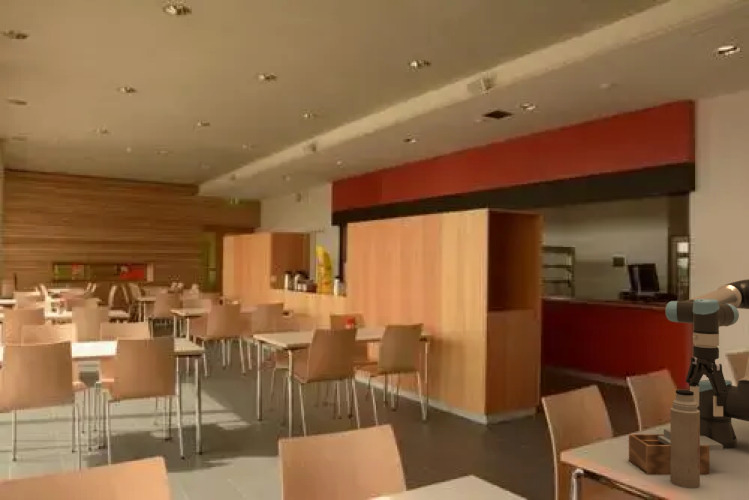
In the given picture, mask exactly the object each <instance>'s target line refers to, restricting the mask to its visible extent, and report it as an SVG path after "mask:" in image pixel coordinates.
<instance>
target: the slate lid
mask: <svg viewBox="0 0 749 500" xmlns="http://www.w3.org/2000/svg"><path fill="white" fill-rule="evenodd" d="M663 434H664V436H658V441H660V442H661V443H663V444H665V445H671V444H670V442H671V429H669V428H663ZM700 445H709V451H723V450H724V448H723V445H722V444H720V443H718V442H716V441H714V440H712V439H710V438H708V437H706V436H700Z"/></svg>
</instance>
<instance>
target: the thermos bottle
mask: <svg viewBox="0 0 749 500" xmlns="http://www.w3.org/2000/svg"><path fill="white" fill-rule="evenodd" d="M675 393H676V395H675V399H673V401H672V404H671V405H672V406H671V407H670V430H671V442H670V444H671V462H670V475H669V476H670V477H669V478H670V483H672V484H673V485H675V486H677V485H678V487H682V488H686V487H688V489H696V488H699V487H700V486H701V484H700V483H701V476H700V411H699V410H698V409H697V407H698V406H697V403H696V402H695V401H694V396H693V395H694V392H692V391H690V390H688V389H687V390H686V389H676V390H675Z"/></svg>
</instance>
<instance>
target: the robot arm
mask: <svg viewBox="0 0 749 500" xmlns="http://www.w3.org/2000/svg"><path fill="white" fill-rule="evenodd" d="M738 309H744V310H749V278H747V279H742V280H737V281H733V282H729V283H726V284H723V285H721V286H719V287H718V288H717V289H716V290H713V291H710V292H709V293H705V294H702V295H699V296H696V297H693V298H690V299H687V300H683V301H679V300H671V301H669V302H667V304H666V305H665V311H664V312H665V317H666V318H667V320H668V321H670V322H673V323H678V324H679V323H682V324H690V325H691V324H692V325H693V326H692V329H693V330H692V333H693V334H692V339H693V340H692V343H693V345H694V346H693V347H692V356H693V357H690V365H689V367H688V368H689V369H688V371H687V375H686V379H685V383H686V384H688V386H689V391H692V392H694V395H693V396H694V401H695V402H696V403H697V406H698V407H697V409H698V410H699V411H700V436H706V437H708V438H710V439H712V440H714V441H716V442H718V443H720V444H722V445H723V449H725V448H727V449H728V448H729V449H730V448H736V447H737V445H738V439H737V435H736V432H735V430H734V427H733V424H732V419H736V420H740V421H745V422H749V356H748V357H747V363H746V367H745V368H746V369H745V372H744V377H742V378H740V379H738V382H737V385H733V383H732V381H731V380H728V379H725V377H724V376H725V375H724V373H723V365H722V363H716V360H718V359H719V358H720V348H719V347H718V346H720V330H719V329H720V327H729V326H733V325H735V324H736V323H737V321H738V320H739V318H740V313H739V310H738ZM703 376H705V377H706V378H708V379H703V380H702V378H703Z"/></svg>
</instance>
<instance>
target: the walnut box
mask: <svg viewBox="0 0 749 500" xmlns="http://www.w3.org/2000/svg"><path fill="white" fill-rule="evenodd" d="M658 436H664V433H660V434H658V433H657V434H656V433H655V434H654V433H653V434H652V433H651V434H650V433H645V434H644V433H641V434H640V433H639V434H636V433H635V434H634V433H632V434H631V433H630V434H628V462H630V463H631V464H632V465H634V466H635V467H636V468H637V469H639V470H641V472H643V473H644V474H646V475H648V476H649V475H651V476H652V475H657V476H658V475H660V476H661V475H666V476H668V475H669V476H670V462H671V445H665V444H663V443H661V442H660V441H658ZM700 475H710V450H709V445H700Z"/></svg>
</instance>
